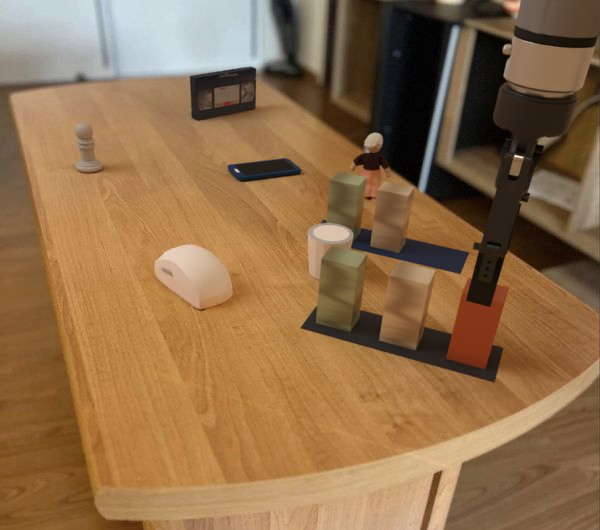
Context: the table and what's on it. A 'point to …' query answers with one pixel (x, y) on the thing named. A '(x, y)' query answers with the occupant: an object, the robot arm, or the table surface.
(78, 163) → the chess piece
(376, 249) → the word mat far
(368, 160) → the grandmother figurine
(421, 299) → the near blocks
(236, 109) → the vhs cassette tape
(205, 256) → the computer mouse
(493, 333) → the orange rectangular block
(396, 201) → the far blocks
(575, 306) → the table surface
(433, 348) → the mat
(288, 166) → the cell phone
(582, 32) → the robot arm
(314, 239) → the pale pink cylinder
